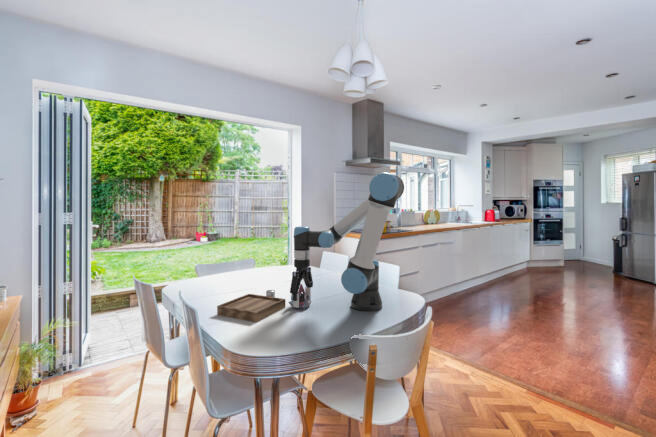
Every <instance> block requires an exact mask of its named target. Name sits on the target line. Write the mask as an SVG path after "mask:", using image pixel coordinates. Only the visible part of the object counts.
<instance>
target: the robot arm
mask: <svg viewBox="0 0 656 437" xmlns="http://www.w3.org/2000/svg"><path fill="white" fill-rule="evenodd" d="M369 182H370V183H369V195H368V198H366V199H364V200H363V202H361V203H359V204H358V205H357V206H356V207H355V208H354V209H353V210H351V211H350V212H348V213H347V214H346V215H345V216H344V217H342V218H341V219H340V220H339V221H337V222H336V223H335V224H334V225H332V226H331V227H330V228H329V229H326V230H320V231H317V230H316V231H313V230H310V229H311V228H310V227H309V226H295V227H294V229H293V257H294V259H293V266H294V268H296V270H295V271H292V276H291V277H292V278H291V281H290V282H291V283H290V289H289V293H290V294H292V293H293V306H292V307H293V308H294V307H297V308H298V307H299V293H298V292H299V288H300V284H302V281H303V282H304V285H305V288H304V291H305V297H306V298H307V295H309V296H310V299H311V298H312V297H311V294H312V292H311V290H312V289H311V288H313V286H314V281H313V275H312V268H311V267H310V265H311V261H310V260H311V259H310V258H311V257H310V256H311V254H310V251H311V250H310V248H322V249H330V248H332V247H333V245H335V244H338V243H340V242H341V240H342V239H343V238H344V237H346V235H348V234H349V233H350V232H352V231H354V229H356V228H357V227H358V226H360V225H361V224H362V223H364V224H363V227H362V230H361V234H360V236H359V239H358V240H359V241H358V244H357V246H356V248H355V252H354V256H352V257H350V258H349V260H348V264H347V267H346V269H345V270H344V271H343V273H342V274H341V275H340V276H341V278H340V281H341V285H342V286H343V289H345V291H346V292H348V293H350V294H352V297H351V301H350V307H352V309H354V310H358V311H364V312H372V311H379V310H381V309H382V308H383V300H382V298H381V295H380V294H381V293H380V292H379V291H380V290H379V288H380V287H379V282H380V280H379V278H380V276H379V274H380V273H379V272H380V264H379V261H378V260H377V259H375V258H376V253H377V250H378V248H379V245H380V241H381V238H382V234H383V232H384V228H385V226H386V224H387V223H386V222H387V220H388V216H389V214H390V211H391V210H393V209H395V206H396V203H397V201H398V199H400V198H401V197H402V195H403V194H404V191H405V184H404V182H403V179H402V178H400V177H399V176H398V175H396V174H393V173H390V172H380V173H378V174H375V175H374V176H373V177H372V178H371V180H370V181H369Z"/></svg>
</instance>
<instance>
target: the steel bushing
mask: <svg viewBox="0 0 656 437" xmlns="http://www.w3.org/2000/svg"><path fill="white" fill-rule="evenodd" d="M265 296H268V297H275V298H276V291H275V289H267V290H266V291H265Z"/></svg>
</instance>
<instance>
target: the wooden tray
mask: <svg viewBox="0 0 656 437" xmlns="http://www.w3.org/2000/svg"><path fill="white" fill-rule="evenodd" d="M285 308H286V298H281V297H276V296H275V297H268V296H266V295H259V294H253V293H247V294H245V295H242V296H240V297H237V298H234V299H231V300H230V301H227V302H224V303H222V304H219V305H216V311H217V312H216V313H217V314H216V315H218V316H220V317H221V316H222V317H228V318H232V319H239V320H244V321H249V322H254V323H258V322H260V321H262V320H264V319H265V318H267V317H269V316H271V315H273V314H275V313H277V312H280V310H283V309H285Z"/></svg>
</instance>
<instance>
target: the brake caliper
mask: <svg viewBox="0 0 656 437" xmlns="http://www.w3.org/2000/svg"><path fill="white" fill-rule="evenodd" d="M298 293H299V307H298V308H297V307H293V293H290V300H291V301H288V304H289V305H291V306H292V307H293V308H294V309H296V310H298V309H308V307H310V305H311V304H312V300H311V299H310V296H309V295H307V298H306V297H305V288H304V286H303V284H302V283H300V287H299V290H298Z"/></svg>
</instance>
